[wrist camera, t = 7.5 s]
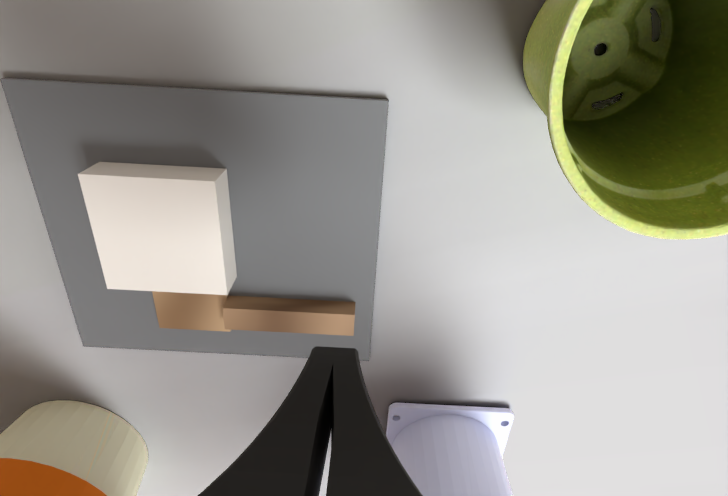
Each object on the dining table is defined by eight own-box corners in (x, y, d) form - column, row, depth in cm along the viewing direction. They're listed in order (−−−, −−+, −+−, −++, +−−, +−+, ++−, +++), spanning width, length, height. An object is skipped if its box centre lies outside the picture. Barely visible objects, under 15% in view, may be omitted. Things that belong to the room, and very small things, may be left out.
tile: (227, 295, 22) (107, 288, 22) (237, 275, 24) (125, 269, 24) (214, 181, 20) (77, 174, 20) (226, 168, 21) (100, 161, 21)
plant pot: (516, 188, 22) (593, 283, 14) (450, -13, 18) (507, -29, 10) (720, 104, 20) (937, 163, 12) (696, -141, 16) (992, -279, 8)
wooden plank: (356, 289, 24) (355, 302, 23) (353, 333, 26) (352, 347, 25) (153, 279, 24) (143, 291, 23) (162, 323, 26) (153, 337, 25)
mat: (369, 356, 27) (369, 360, 27) (87, 341, 27) (83, 346, 27) (388, 99, 20) (388, 101, 20) (6, 77, 20) (0, 78, 20)
